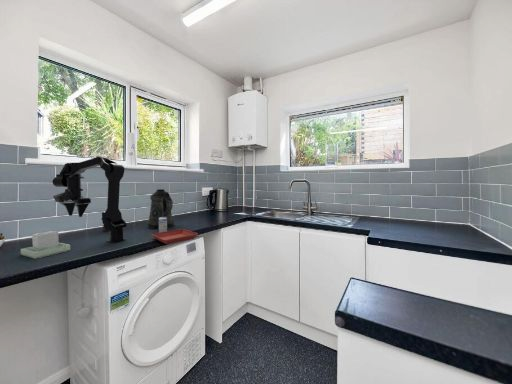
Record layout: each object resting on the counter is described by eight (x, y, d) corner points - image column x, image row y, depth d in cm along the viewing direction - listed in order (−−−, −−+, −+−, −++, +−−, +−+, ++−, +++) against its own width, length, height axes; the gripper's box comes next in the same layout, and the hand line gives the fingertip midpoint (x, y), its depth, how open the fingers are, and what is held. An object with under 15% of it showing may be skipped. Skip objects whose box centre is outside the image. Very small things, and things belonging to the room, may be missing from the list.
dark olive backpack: (156, 223, 161) (155, 188, 160) (182, 224, 158) (181, 189, 157) (141, 228, 145) (140, 189, 143) (170, 229, 142) (169, 190, 141)
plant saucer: (150, 239, 120) (150, 233, 120) (182, 233, 132) (182, 228, 132) (164, 246, 107) (164, 239, 107) (198, 239, 119) (198, 233, 119)
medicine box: (158, 231, 137) (158, 217, 136) (166, 230, 138) (166, 216, 138) (158, 234, 129) (158, 219, 129) (167, 233, 131) (166, 219, 131)
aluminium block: (58, 249, 100) (58, 231, 99) (38, 254, 93) (37, 235, 93) (53, 248, 101) (52, 230, 101) (33, 252, 95) (32, 234, 95)
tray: (70, 250, 100) (70, 244, 100) (35, 259, 89) (34, 252, 89) (55, 247, 105) (55, 241, 105) (20, 254, 94) (20, 249, 94)
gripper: (45, 187, 116) (47, 217, 117) (65, 187, 108) (67, 220, 109) (70, 186, 126) (72, 214, 127) (91, 187, 118) (92, 216, 119)
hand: (75, 216), depth 120 cm, fingers open, 9 cm apart
